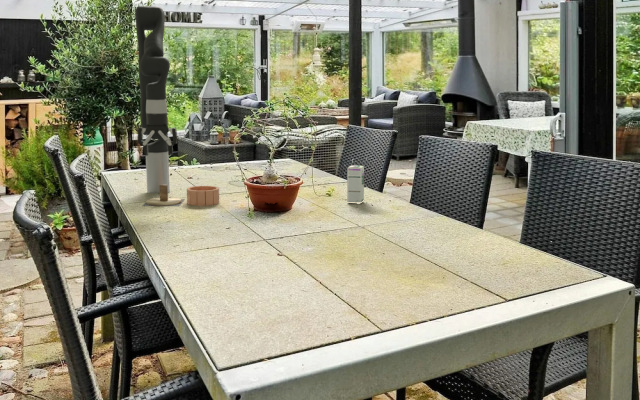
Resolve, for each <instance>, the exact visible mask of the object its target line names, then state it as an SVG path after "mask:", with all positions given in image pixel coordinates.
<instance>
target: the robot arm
mask: <svg viewBox="0 0 640 400" xmlns="http://www.w3.org/2000/svg"><path fill="white" fill-rule="evenodd" d="M134 11H135V15H134V17H135V18H134V19H135V27H136V28H135V29H136V36H137V49H138V51H137V52H138V78H139V79H138V80H139V91H140V127H138V128H137V143H138V145H141V146H143V147H142V149H143V150H142V151H143V154H144V155H145V169H146V171H145V172H146V193H147V194H160V187H159V185H162V184H166V185H168V193H170V192H171V191H170V164H169V161H170V159H169V157H170V156H172V155H173V154H174V148H173V146H174V145H176V144H178V141H179V140H178V132H177V131H178V130H177V127H171V128H170V127H169V118H168V105H167V98H166V97H167V93H166V92H167V91H166V90H167V81H168V76H169V72H170V68H171V64H170V61H169V59H168V58H167V57H164V54H165V53H164V37H165V36H164V35H165V34H164V33H165V24H166V23H165V22H166V21H165V13H164V12H165V11H164V9H163V8H162V7H160V6H156V5H155V6H153V5H151V6H150V5H149V6H148V5H144V6H143V5H139V6H136V8H135V10H134ZM145 31H151V32H150V33H149V34H148V35H147V36H146V33H145ZM169 132H170V134H171V135H172V140H171V138H170V137H169ZM144 136H146V138H145V139H144ZM143 139H144V140H143ZM151 140H155V141H154V142H150V141H151ZM149 142H150V143H149Z"/></svg>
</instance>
